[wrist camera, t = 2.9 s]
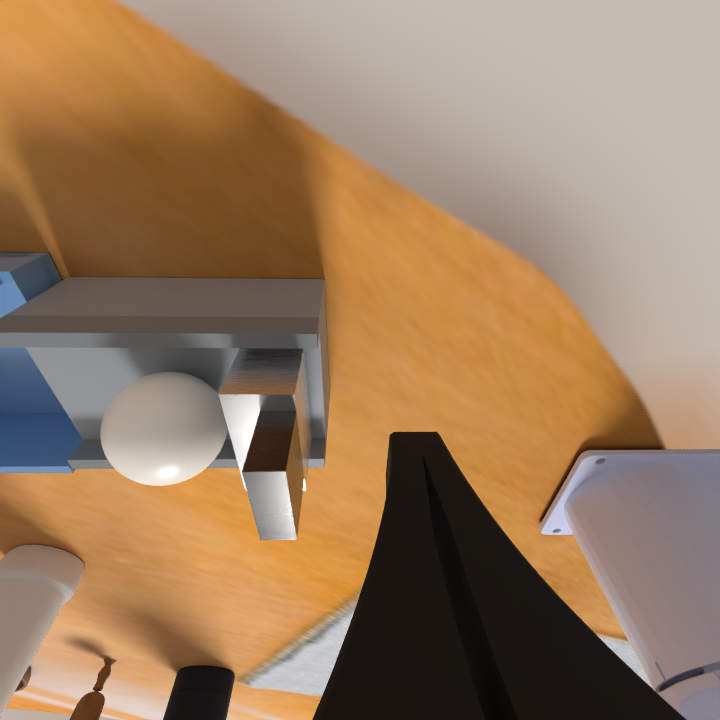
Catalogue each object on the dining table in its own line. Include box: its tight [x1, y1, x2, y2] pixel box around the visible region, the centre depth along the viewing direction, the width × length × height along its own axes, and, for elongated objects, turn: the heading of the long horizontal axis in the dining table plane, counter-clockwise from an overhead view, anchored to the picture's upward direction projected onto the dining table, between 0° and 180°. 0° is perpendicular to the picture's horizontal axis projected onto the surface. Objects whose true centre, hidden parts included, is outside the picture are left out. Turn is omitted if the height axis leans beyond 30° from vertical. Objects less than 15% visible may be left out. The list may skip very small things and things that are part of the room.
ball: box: [100, 372, 228, 486], centre depth 11 cm, size 4×4×4 cm
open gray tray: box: [0, 277, 330, 469], centre depth 14 cm, size 10×6×4 cm, turn 89°
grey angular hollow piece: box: [219, 348, 312, 540], centre depth 11 cm, size 2×4×4 cm, turn 179°
